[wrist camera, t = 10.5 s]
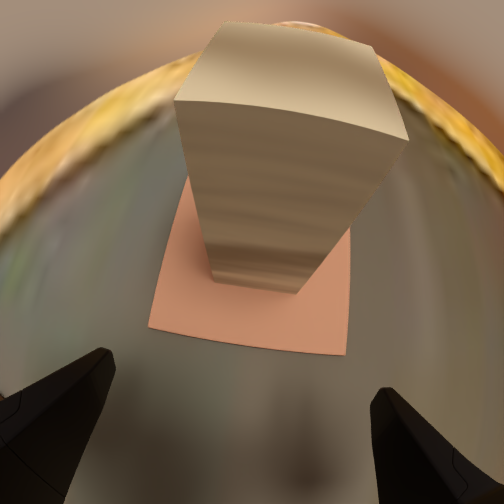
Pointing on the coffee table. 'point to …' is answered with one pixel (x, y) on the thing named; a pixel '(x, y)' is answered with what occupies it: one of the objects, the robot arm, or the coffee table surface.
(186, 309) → the terracotta mat
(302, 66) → the birch block
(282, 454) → the coffee table surface
